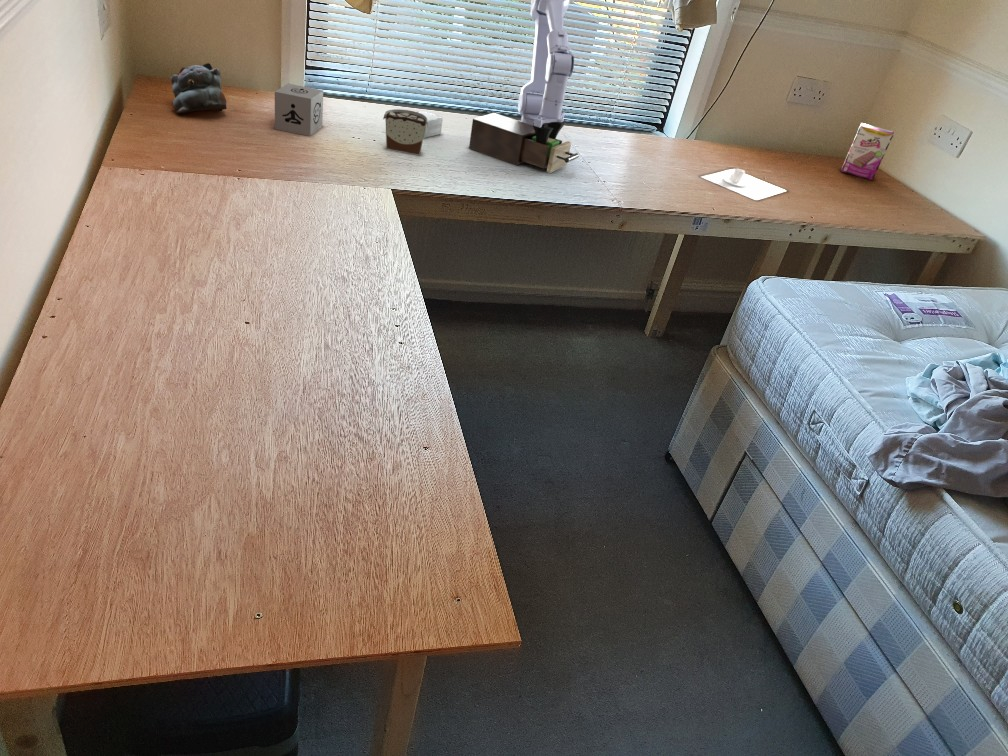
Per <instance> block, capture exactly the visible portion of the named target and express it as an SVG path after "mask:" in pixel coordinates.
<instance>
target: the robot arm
mask: <svg viewBox="0 0 1008 756" xmlns="http://www.w3.org/2000/svg"><path fill="white" fill-rule="evenodd" d="M570 1H571V0H531V2H530V17H531V18H532V19H533V20H534V21H535V23H534V24H535V25H534V26H535V31H534V41H533V51H532V52H533V54H532V62H531V63H532V64H531V73H530V76H531V77H530V81H529V82H527V83H526V84H524V85H523V86H522V87H521V88H520V93H519V96H518V101H517V111H518V113H519V115H521V118H520V121H521V122H524V123H527V124H530V125H533V128H534V130H535V135H536V142H538V143H541V144H544V145H546V143H547V140H548V137H549V138H552V139H557V137H558V135H559V133H560V131H561V130H562V129H563V127H564V125H565V122H564V121H565V114H566V112H565V111H563V106H564V101H565V97H566V92H567V87H568V81H569V78H570V77H571V76H572V75H573V72H574V67H575V56H574V54H573V52H572V51H571V50H570V44H569V34H568V32H567V31H566V30H564V16H565V14H566V13H567V11H568V9H569V6H570Z"/></svg>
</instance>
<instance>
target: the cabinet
mask: <svg viewBox="0 0 1008 756" xmlns="http://www.w3.org/2000/svg"><path fill="white" fill-rule="evenodd" d="M470 130H471V131H470V137H469V145H468V149H470V150H473V151H475V152H478V153H480V154H484V155H487V156H490V157H492V158H495V159H498V160H501V161H504V162H507V163H509V164H512V165H515V166H520V165H523V164H524V163H526V162H524V161H521V160H520V155H521V149H522V143H523V138H524V137H527V136H530V135H532V134H535V130H534V128H533V125H530V124H527V123H524V122H521V120H517V119H514V118H512V117H508V116H505V115H502V114H499V113H496V112H491V113H488V114H485V115H481V116H478V117H477V116H476V117H474V118H472V121H471V129H470Z"/></svg>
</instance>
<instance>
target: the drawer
mask: <svg viewBox="0 0 1008 756" xmlns="http://www.w3.org/2000/svg"><path fill="white" fill-rule="evenodd" d="M534 136H536V135H535V134H532V135H530V136H527V137H524V138H523V143H522V149H521V155H520V160H521V161H524V162H525V163H526V164H529V165H533V166H535V167H539V168H541V169H546V173H549V174H551V173H553V172H555V171H557V170H560V169H562V168H564V167H567V165H568V163H570V162H573V161H575V160H576V159H579V157H580V155H579V153H578V152H575V153H572V152H570V151H571V146H572V142H571V141H568V140H567V141H565V142H563V140H561V139H558V138H556V139H555V140H558V141H560V142H559V145H557V146H555V147H552V148H551V152H550V157H547V156H548V151H549V146H547V145H544V144H541V143H538V142H536V141H533V140H532V137H534Z"/></svg>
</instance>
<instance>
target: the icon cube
mask: <svg viewBox="0 0 1008 756" xmlns="http://www.w3.org/2000/svg"><path fill="white" fill-rule="evenodd" d="M323 112H324V90H323V89H318V88H314V87H313V88H312V87H309V86H302V85H298V84H295V83H294V84H293V83H287V84H285V85H283V86H282V87H279V88H278V89H277V90H275V91H274V130H279V131H283V132H289V133H293V134H299V135H302V136H306V137H307V136H308V137H311V136H312V135H314V134H315V133H316V132H318V131H319V130H320V129H321V128H322V127H323V119H324V118H323V117H324V116H323V114H324V113H323Z"/></svg>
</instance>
